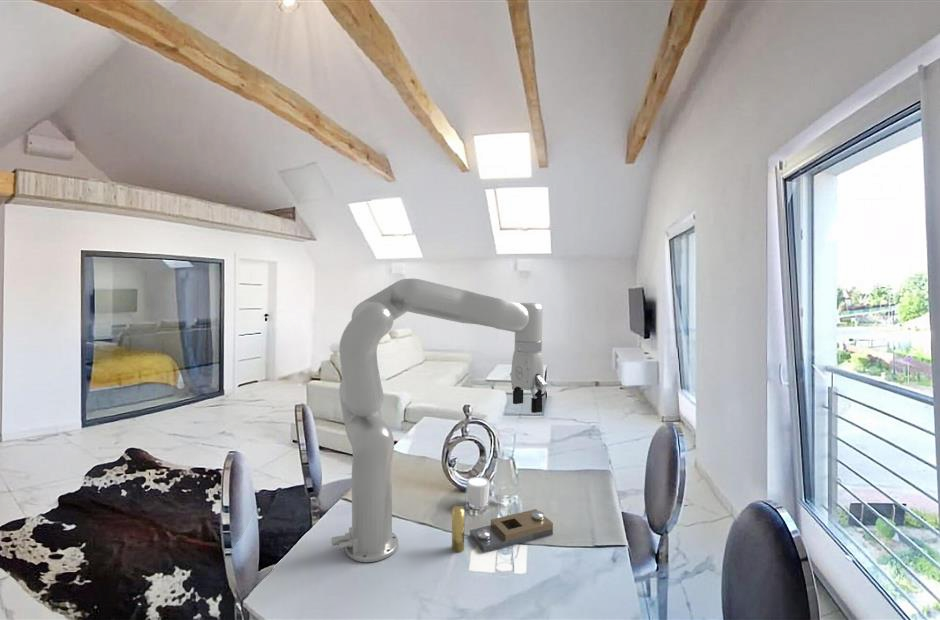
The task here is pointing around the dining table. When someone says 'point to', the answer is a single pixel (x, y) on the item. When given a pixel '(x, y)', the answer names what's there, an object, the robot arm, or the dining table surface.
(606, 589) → the dining table surface
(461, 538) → the brass pin
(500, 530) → the bolted fixture plate
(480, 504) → the white pillar candle
